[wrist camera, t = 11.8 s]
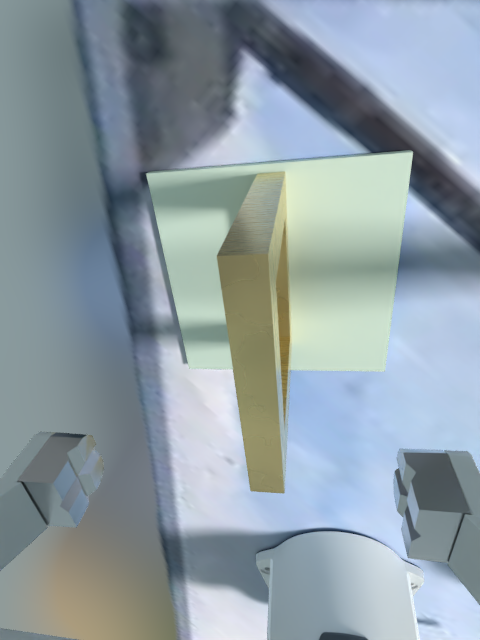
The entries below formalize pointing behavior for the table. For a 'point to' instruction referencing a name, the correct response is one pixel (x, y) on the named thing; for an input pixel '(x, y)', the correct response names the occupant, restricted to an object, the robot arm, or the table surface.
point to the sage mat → (293, 254)
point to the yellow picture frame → (260, 326)
